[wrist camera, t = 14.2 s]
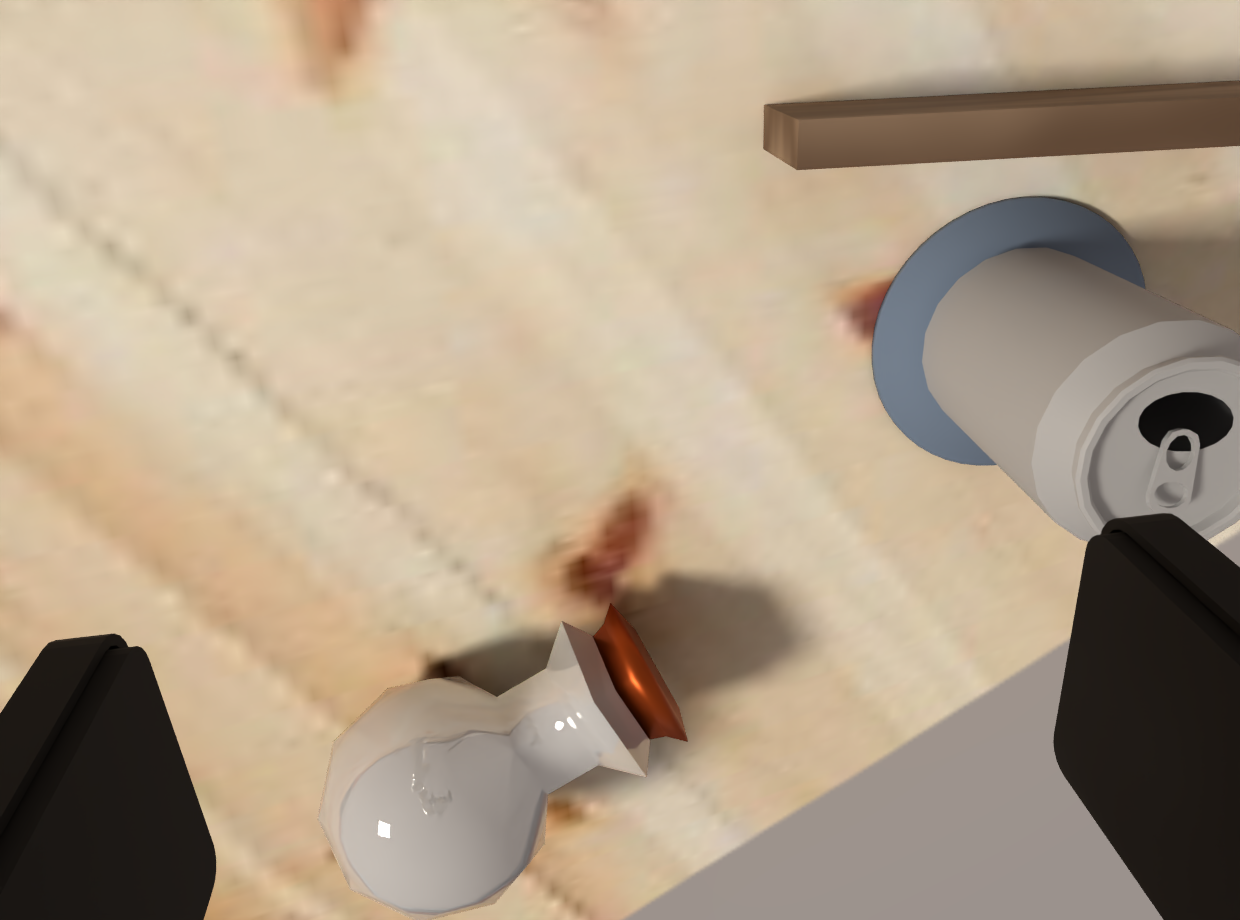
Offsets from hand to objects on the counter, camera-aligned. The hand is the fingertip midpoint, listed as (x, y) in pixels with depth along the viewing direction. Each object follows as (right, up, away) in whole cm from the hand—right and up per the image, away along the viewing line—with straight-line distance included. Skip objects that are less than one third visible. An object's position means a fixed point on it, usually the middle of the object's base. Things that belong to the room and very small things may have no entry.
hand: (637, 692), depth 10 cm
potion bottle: (-6, -8, +35) cm, 37 cm away
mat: (+15, +7, +30) cm, 34 cm away
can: (+15, +7, +30) cm, 34 cm away
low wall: (+15, +15, +26) cm, 34 cm away
